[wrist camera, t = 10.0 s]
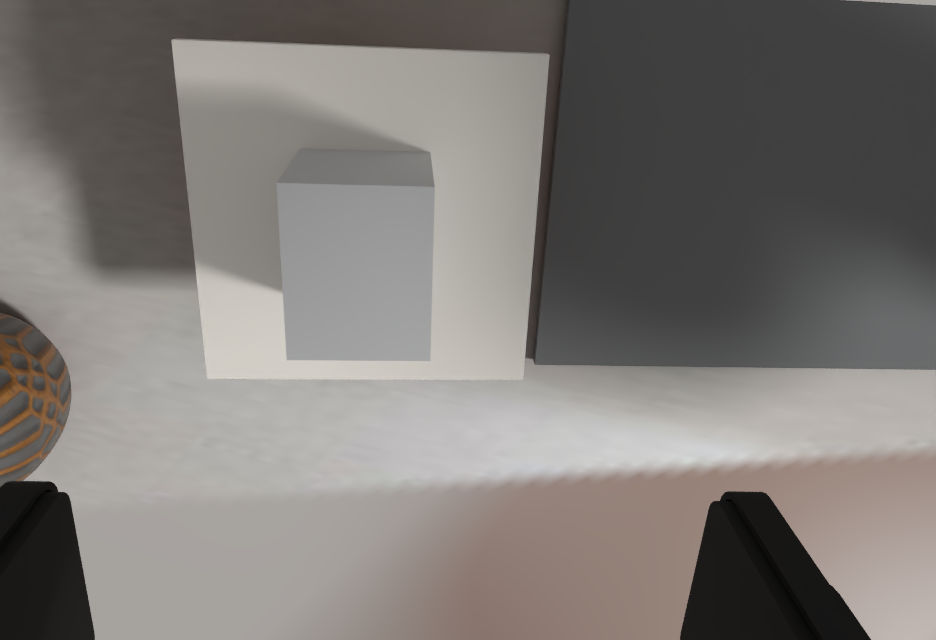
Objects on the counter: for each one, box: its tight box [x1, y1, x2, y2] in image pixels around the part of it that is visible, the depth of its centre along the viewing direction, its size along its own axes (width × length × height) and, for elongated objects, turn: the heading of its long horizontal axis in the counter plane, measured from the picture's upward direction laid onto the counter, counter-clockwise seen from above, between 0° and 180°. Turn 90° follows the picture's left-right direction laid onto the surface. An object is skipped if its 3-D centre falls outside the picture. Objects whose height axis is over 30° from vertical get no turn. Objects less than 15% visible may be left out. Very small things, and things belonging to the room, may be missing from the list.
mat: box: [534, 0, 936, 370], centre depth 31 cm, size 20×15×1 cm
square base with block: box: [171, 38, 550, 380], centre depth 23 cm, size 11×11×5 cm
